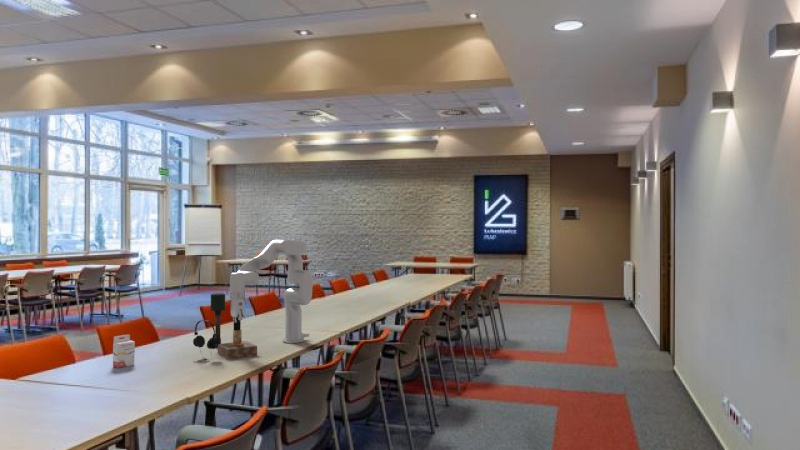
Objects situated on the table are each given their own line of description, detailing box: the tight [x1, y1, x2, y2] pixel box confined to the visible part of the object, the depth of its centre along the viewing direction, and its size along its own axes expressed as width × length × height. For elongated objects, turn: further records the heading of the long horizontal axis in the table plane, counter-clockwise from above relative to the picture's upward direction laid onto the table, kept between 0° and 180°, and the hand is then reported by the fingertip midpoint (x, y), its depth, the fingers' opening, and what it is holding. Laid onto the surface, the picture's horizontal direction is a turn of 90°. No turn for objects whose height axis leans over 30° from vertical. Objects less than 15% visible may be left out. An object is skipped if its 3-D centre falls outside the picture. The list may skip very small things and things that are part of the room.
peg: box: [230, 328, 244, 346], centre depth 304 cm, size 6×6×13 cm
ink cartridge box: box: [112, 334, 136, 369], centre depth 279 cm, size 9×5×15 cm, turn 145°
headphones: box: [192, 319, 219, 364], centre depth 291 cm, size 15×11×20 cm
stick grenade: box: [209, 292, 227, 349], centre depth 322 cm, size 8×9×30 cm
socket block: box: [217, 340, 258, 360], centre depth 304 cm, size 16×16×5 cm
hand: (237, 330), depth 304 cm, fingers closed
